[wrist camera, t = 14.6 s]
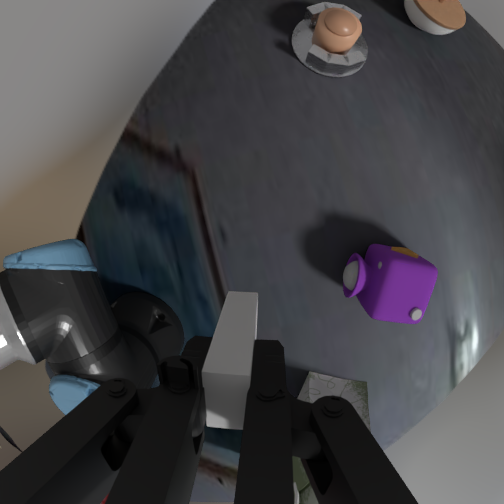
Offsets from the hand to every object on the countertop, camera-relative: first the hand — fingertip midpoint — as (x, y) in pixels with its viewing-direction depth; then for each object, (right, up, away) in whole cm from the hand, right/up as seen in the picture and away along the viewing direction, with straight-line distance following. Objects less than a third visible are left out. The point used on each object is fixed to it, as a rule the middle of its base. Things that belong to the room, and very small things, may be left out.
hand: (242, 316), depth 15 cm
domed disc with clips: (+12, +35, +20) cm, 42 cm away
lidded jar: (+31, +45, +17) cm, 57 cm away
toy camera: (+20, 0, +30) cm, 36 cm away
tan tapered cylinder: (+12, +35, +20) cm, 42 cm away
